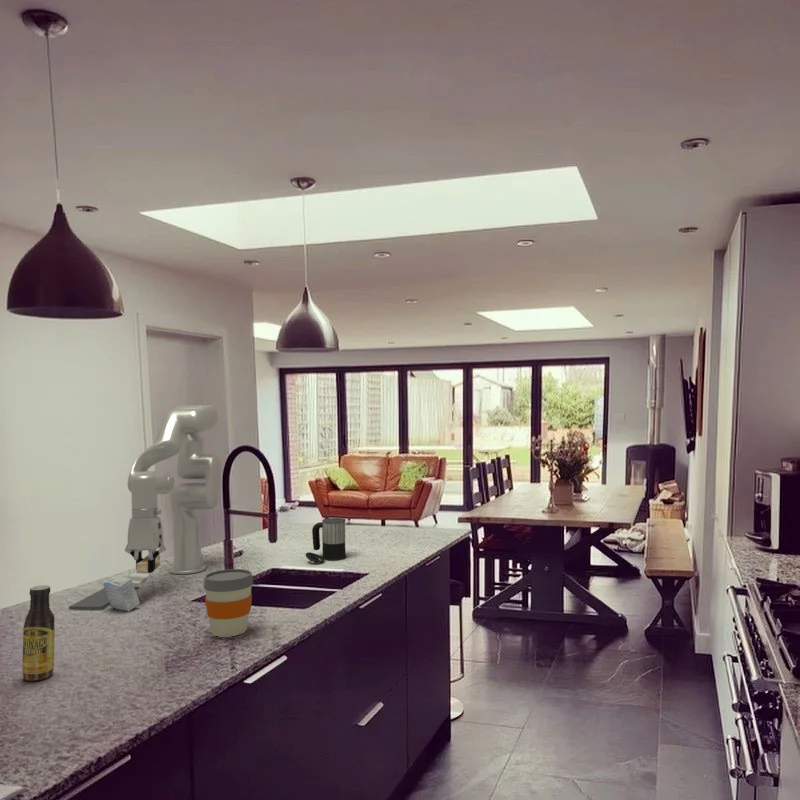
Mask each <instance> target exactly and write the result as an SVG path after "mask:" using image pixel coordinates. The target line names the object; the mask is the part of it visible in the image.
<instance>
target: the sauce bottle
mask: <svg viewBox="0 0 800 800" xmlns="http://www.w3.org/2000/svg"><path fill="white" fill-rule="evenodd" d="M50 593H51V586H50V585H46V584H44V585H41V584H40V585H35V586H32V587H31V588H29V596H30V605H29V610H28V612H27V614H26V616H25V618H24V624H23V629H22V660H21V661H22V665H21V666H22V679H23V680H25V681H28V682H35V681H42V680H45V679H47V678H49V677H51V676H52V675H53V673H54V668H55V639H56V637H55V635H56V634H55V631H56V630H55V629H56V628H55V614H54V613H53V611H52V610H51V608H50Z"/></svg>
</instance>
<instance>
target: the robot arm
mask: <svg viewBox="0 0 800 800" xmlns="http://www.w3.org/2000/svg"><path fill="white" fill-rule="evenodd" d="M218 417H219V415H218V411H217V409H216V407H214V406H213V405H210V404H201V405H199V404H198V405H196V404H195V405H190V404H188V405H179V406H177V405H176V406H174V407H172V408H171V410H168V411H166V412H165V414H164V415H163V417H162V419H161V422H160V425H159V429H158V431H157V435H156V436H155V441H154V443H153V444H152V445H150V446H148V447H147V448H146V449H145V450H144V451H143V452H141V453H140V454H139V455H138V456H137V457H136V459H135V460H134V461H133V463H132V465H131V469H130V471H129V474H128V477H127V488H128V491H129V492H130V493H131V518H129V522H128V528H127V544H126V547H125V549H124V551H125V552H126V553H127V554H129V555H131V556H132V557H133V560H135V569H136V571H137V565H136V564H137V563H139V562H140V561H142V560H143V559H144V557H143V551H148V555H149V560H148V573H151V572H152V573H153V572H154V571H155V570H156V569H155V558H157V556H158V555H159V554H161V553H164V552H165V551H167V548H166V546H165V544H164V543H165V540H164V531H163V530H164V529H163V525H162V519H161V516H159V515H161V514H162V510H161V509H159V507H158V495H166V494H169V503H170V506H171V512H172V529H173V530H172V531H173V534H172V535H173V538H172V539H173V565H172V566H171V567H170V568H169V572H170V573H171V574H172V575H191V574H195V573H196V574H197V573H200V572H203V571H205V570H206V569H207V566H206V564H204V563H202V559H203V558H204V554H202V531H201V529H202V528H201V527H202V525H201V524H202V523H201V518H200V517H199V514H198V513H197V512H196V511H195V510H214V509H216V507H218V505H219V502H220V498H221V484H222V474H223V473H222V471H223V468H222V467H223V466H222V465H223V464H222V461H221V458H220V456H219V455H218V454H215V453H204V451H203V449H204V439H203V438H202V436H201V434H200V433H202V432H207V431H208V430H211V429H213V428H214V427H215V426H216V425H217V422H218V419H219V418H218ZM177 455H178V456H177ZM174 456H177V464H176V474H177V476H178V478H180V479H182V480H186V481H192V480H193V481H195V480H196V481H198V480H199V481H200V480H204V481H205V482H183V483H177V484H175V479H174V475H172V473H170V472H168V471H163V470H160V471H158V470H157V471H155V470H153V471H152V470H149V469H150V468H151V467H152V466H154V465H156V464H157V463H160V462H162V461H164V460H168V459H170V458H172V457H174ZM148 470H149V471H148ZM154 569H155V570H154ZM152 573H151V574H152Z"/></svg>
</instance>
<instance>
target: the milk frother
mask: <svg viewBox="0 0 800 800" xmlns="http://www.w3.org/2000/svg"><path fill="white" fill-rule="evenodd" d="M346 520H347V518H342V517H328V518H323V519H321V522H317V523H315V524H314V525H313V527H312V529H311V532H312V533H311V535H312V536H311V537H312V546H313V550H314V551H319V550H320V549H321V542H320V541H321V540H322V555H319V554H317V553H314V552H311V551H310V552H306V553H305V557H306V558H307V560H309V561H310V562H313V563H314V564H317V563H318V564H323V563H324V562H325V561H340V560H341V559H342V560H345V559H346V558H347V555H346ZM320 529H321V531H322V535H321V536H322V537H320ZM320 538H322V539H321V540H320ZM325 559H326V560H325Z"/></svg>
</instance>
